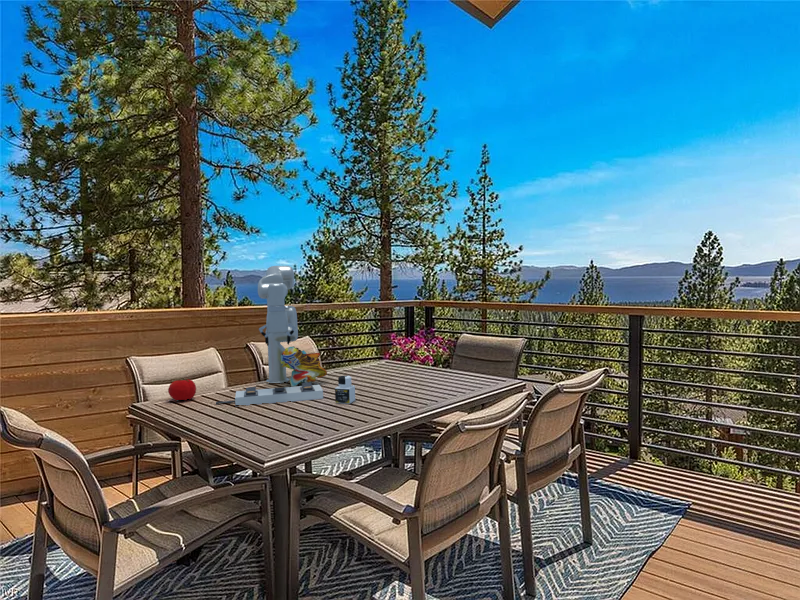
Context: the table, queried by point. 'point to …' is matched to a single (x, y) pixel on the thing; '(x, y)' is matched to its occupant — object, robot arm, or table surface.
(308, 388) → the rocker
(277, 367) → the robot arm
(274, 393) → the rocker switch panel
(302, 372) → the multicoloured irregular chunky piece
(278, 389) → the rocker middle
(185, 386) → the tomato
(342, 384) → the medicine bottle
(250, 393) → the rocker
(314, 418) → the table surface
